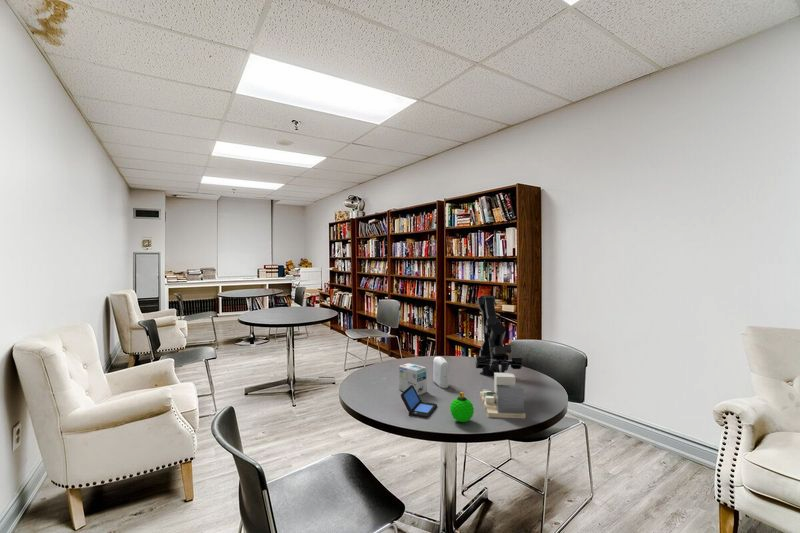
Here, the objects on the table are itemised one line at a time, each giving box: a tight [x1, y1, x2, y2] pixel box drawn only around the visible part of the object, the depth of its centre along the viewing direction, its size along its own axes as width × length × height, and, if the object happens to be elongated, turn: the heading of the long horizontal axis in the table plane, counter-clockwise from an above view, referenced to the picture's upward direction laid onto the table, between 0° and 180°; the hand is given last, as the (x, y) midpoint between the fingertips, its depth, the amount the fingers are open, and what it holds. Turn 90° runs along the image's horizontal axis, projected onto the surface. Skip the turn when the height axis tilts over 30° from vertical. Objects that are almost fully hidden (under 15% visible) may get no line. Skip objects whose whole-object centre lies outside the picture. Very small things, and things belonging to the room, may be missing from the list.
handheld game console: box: [400, 385, 438, 419], centre depth 134 cm, size 12×11×7 cm
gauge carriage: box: [487, 372, 516, 401], centre depth 137 cm, size 8×10×10 cm
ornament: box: [449, 391, 475, 423], centre depth 124 cm, size 8×8×10 cm
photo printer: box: [432, 356, 450, 389], centre depth 162 cm, size 10×4×12 cm, turn 17°
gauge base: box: [479, 389, 527, 419], centre depth 138 cm, size 22×13×4 cm, turn 175°
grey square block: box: [496, 384, 525, 413], centre depth 129 cm, size 3×9×9 cm, turn 85°
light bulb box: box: [398, 362, 428, 396], centre depth 154 cm, size 11×7×11 cm, turn 47°
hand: (501, 381), depth 144 cm, fingers closed
